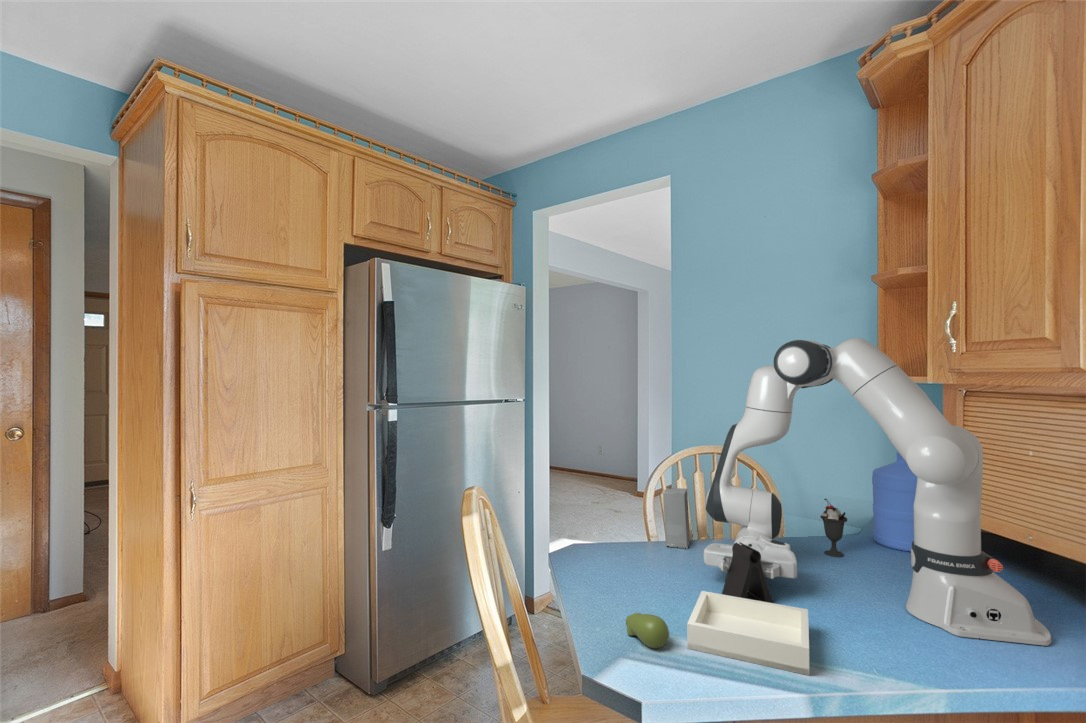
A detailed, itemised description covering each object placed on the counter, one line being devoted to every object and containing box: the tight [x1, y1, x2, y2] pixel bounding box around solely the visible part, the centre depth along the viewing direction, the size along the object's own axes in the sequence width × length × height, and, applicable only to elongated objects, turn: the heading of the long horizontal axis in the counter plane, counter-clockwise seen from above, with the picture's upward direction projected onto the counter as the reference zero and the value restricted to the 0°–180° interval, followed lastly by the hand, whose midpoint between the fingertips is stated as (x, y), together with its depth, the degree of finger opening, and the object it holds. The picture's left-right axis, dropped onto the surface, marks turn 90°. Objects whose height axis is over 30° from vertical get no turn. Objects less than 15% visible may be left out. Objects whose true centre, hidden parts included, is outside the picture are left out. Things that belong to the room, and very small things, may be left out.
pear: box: [625, 612, 670, 649], centre depth 100 cm, size 6×5×10 cm
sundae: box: [820, 498, 848, 558], centre depth 146 cm, size 7×7×15 cm
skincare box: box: [662, 487, 691, 550], centre depth 155 cm, size 8×7×16 cm
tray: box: [686, 590, 811, 677], centre depth 99 cm, size 20×16×4 cm
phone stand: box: [721, 542, 774, 603], centre depth 116 cm, size 9×6×12 cm, turn 105°
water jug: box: [871, 450, 917, 553], centre depth 154 cm, size 16×16×28 cm
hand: (746, 571), depth 116 cm, fingers open, 8 cm apart
